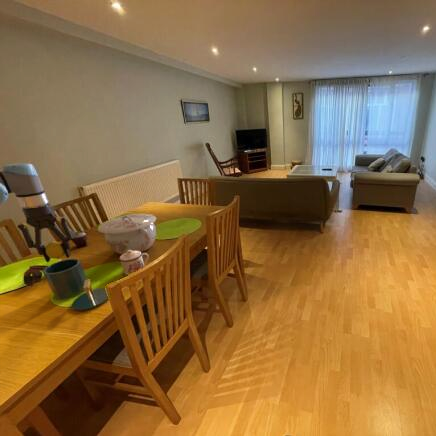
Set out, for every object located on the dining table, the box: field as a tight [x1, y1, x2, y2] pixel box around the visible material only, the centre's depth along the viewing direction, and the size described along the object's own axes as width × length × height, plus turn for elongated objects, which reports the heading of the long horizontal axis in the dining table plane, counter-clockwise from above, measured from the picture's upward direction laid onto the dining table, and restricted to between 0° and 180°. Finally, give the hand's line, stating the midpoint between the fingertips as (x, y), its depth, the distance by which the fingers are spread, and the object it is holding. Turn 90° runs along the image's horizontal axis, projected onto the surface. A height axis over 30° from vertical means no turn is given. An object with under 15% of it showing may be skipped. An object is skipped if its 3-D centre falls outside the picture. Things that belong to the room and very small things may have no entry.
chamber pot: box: [97, 213, 157, 255], centre depth 135 cm, size 28×28×21 cm
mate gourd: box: [60, 224, 88, 249], centre depth 140 cm, size 8×8×15 cm
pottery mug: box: [22, 264, 49, 286], centre depth 111 cm, size 12×10×8 cm
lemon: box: [45, 241, 66, 260], centre depth 97 cm, size 6×6×8 cm
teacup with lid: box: [119, 250, 150, 276], centre depth 117 cm, size 12×9×12 cm
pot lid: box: [71, 278, 109, 311], centre depth 97 cm, size 13×13×8 cm
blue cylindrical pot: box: [42, 258, 88, 300], centre depth 103 cm, size 12×12×13 cm
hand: (58, 258), depth 99 cm, fingers closed on lemon, 5 cm apart
